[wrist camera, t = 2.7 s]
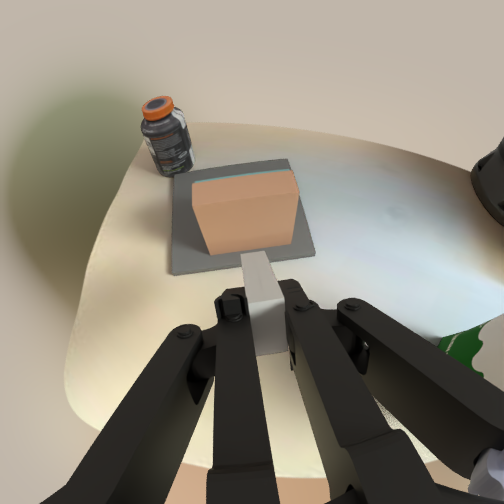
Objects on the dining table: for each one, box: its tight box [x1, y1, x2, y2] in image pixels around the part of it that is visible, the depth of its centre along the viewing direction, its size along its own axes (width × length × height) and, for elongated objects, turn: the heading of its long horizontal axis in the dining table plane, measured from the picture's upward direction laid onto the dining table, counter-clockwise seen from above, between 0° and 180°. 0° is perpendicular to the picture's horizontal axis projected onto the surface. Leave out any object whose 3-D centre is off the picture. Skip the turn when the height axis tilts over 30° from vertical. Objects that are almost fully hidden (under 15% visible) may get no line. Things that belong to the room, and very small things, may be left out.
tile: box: [192, 169, 299, 255], centre depth 27 cm, size 9×3×9 cm, turn 98°
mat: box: [172, 159, 316, 276], centre depth 33 cm, size 16×15×1 cm
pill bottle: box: [141, 96, 195, 177], centre depth 33 cm, size 6×6×11 cm
